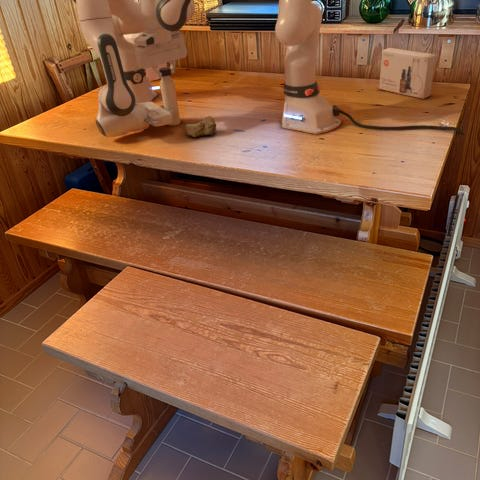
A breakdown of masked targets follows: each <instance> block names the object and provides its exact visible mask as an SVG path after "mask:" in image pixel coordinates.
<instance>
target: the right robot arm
mask: <svg viewBox="0 0 480 480" xmlns="http://www.w3.org/2000/svg"><path fill="white" fill-rule="evenodd" d="M139 1H140V4H141V10H142V15H143V17H144V20H145V32H143V33H142V34H141V35H139V36H138V37H136V38H135V39H134V42H135V44H136V45H137V46H136V48H135V56H136V62H137V65H138V67H139V68H142V69H146V68H150V67H152V69H153V70H154V72H155V73H156V77H157V78H160V77H162V73H161V72H159V71H158V70H157V68H158V65H160V64H164V63H169V64H170V66H169V68H170V70H171V75H173V74H175V73H176V72H175V68H176V64H177V60H181V59H184V58H187V56H188V50H187V49H188V48H187V45H186V42H185V35H184V33H183V32H182V31H180V30H181V29H182V28H184V26H185V25H186V24H187V23H188V22H189V21H190V20H191V19H193V17H194V14H195V10H196V8H195V7H196V6H195V3H194V0H139ZM277 9H278V11H277V19H276V23H275V27H274V32H275V36H276V38H277V40H278V41H279V42H280V43H281V44H282V45H283V46H287V47H286V52H285V53H286V54H285V55H284V59H283V67H284V68H283V70H284V82H283V89H282V90H283V94H284V103H283V111H282V116H281V120H280V121H281V128H282V129H288V130H292V131H298V132H303V133H309V134H313V135H314V134H315V135H319V134H324V133H328V132H331V131H332V130H335V129H337V128H338V127H339V126H340V125H341V124H342V120H341V119H340V118H337V117H340V116H341V115H344V116H345V117H347V118H348V119H349V120H350V121H351V122H352V124H354V125H355V126H357V127H359V128H363V129H373V130H385V131H386V130H389V131H390V130H391V131H392V130H397V131H398V130H411V129H428V130H431V129H433V130H440V131H441V130H442V131H455V132H457V133H458V134H459V135H461V136H464V135H465V134H464V132H463V130H461V129H460V128H458V127H456V126H440V125H427V124H426V125H425V124H424V125H422V124H421V125H401V126H400V125H399V126H380V125H370V124H363V123H360V122H358V121H356V120H355V119H354V118H353V117H352V115H350V114H349V113H348V112H346V111H343V110H342V109H340V108H339V107H338V106H337V105H335V104H334V105H332V104H331V103H330V102H329V101H328V100H327V99H326V98H325V97H324V96H323V95H322V94H321V93H320V90H321V89H322V86H323V85H322V84H320V85H319V84H318V81H317V56H318V55H317V54H318V48H319V42H320V33H321V25H322V22H323V12H322V10H321V8H320V7H319V6H318V5H317V4H315V3H313V0H278V8H277ZM340 114H341V115H340ZM459 197H460V193H458V194H457V195H456V196H455V197H454V202H453V206H452V211H451V215H450V219H449V222H448V223H449V224H448V229H447V236H451V233H452V228H453V224H454V223H453V222H454V219H455V214H456V210H457V206H458V202H459Z"/></svg>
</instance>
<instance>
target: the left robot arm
mask: <svg viewBox="0 0 480 480" xmlns="http://www.w3.org/2000/svg"><path fill="white" fill-rule="evenodd" d="M72 1H73V2H74V3H75V5H76V6H75V7H76V13H77V19H78V23H79V27H80V31H81V33H82V36H83V38H84V41H85V43H86V44H87V45H88V46H89V47H90V48H91V49H92V50H93V51H94V52H95V53H96V54H97V56H98V57H99V60H100V61H101V65H102V68H103V73H104V76H105V79H106V85H103V86H102V87H101V88H100V89H99V90H98V93H97V104H98V107H97V115H96V117H95V119H94V120H95V121H94V122H95V125H96V127H97V129H98V131H99V132H100V135H102V136H104V138H117V137H120V136H121V137H122V136H124V135H127V134H129V133H131V132H132V133H133V132H138V131H142V130H145V129H149V127H150V125H152V126H153V127H162V126H168V125H167V124H171V123H172V122H173V117H172V116H173V115H174V114H178V109H179V108H178V109H176V108H174V109H172V110H171V111H167V110H165V109H164V104H156V103H155V102H153V100H154V98H156V97H157V96H158V94H157V92H154V90H159V89H160V90H161V88H160V85H158V86H153V85H152V81H151V80H150V78H148V77H147V76H146V69H142V68H139V67H138V65H137V62H136V56H135V48H136V46H137V45H135V44H133V43H131V42H128V41H127V40H126V39H125V38H124V36H123V35H126V34H137V33H141V32H145V20H144V17H143V15H142V10H141V3H139V2H137V1H135V0H72Z"/></svg>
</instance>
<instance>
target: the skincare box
mask: <svg viewBox="0 0 480 480" xmlns="http://www.w3.org/2000/svg"><path fill="white" fill-rule="evenodd" d="M436 57H437V54H435V53H427V52H423V51H422V52H420V51H413V50H407V49H400V48H395V47H394V48H393V47H387V48H385V49H382V50H381V61H380V74H379V86H378V87H379V88H378V89H379V90H383V91H387V92H391V93H395V94H399V95H405V96H409V97H414V98H418V99H422V100H424V99H426V98H428V97H430V96H431V91H432V86H433V85H432V84H433V78H434V73H435V72H434V71H435V70H434V69H435V64H436Z"/></svg>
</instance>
